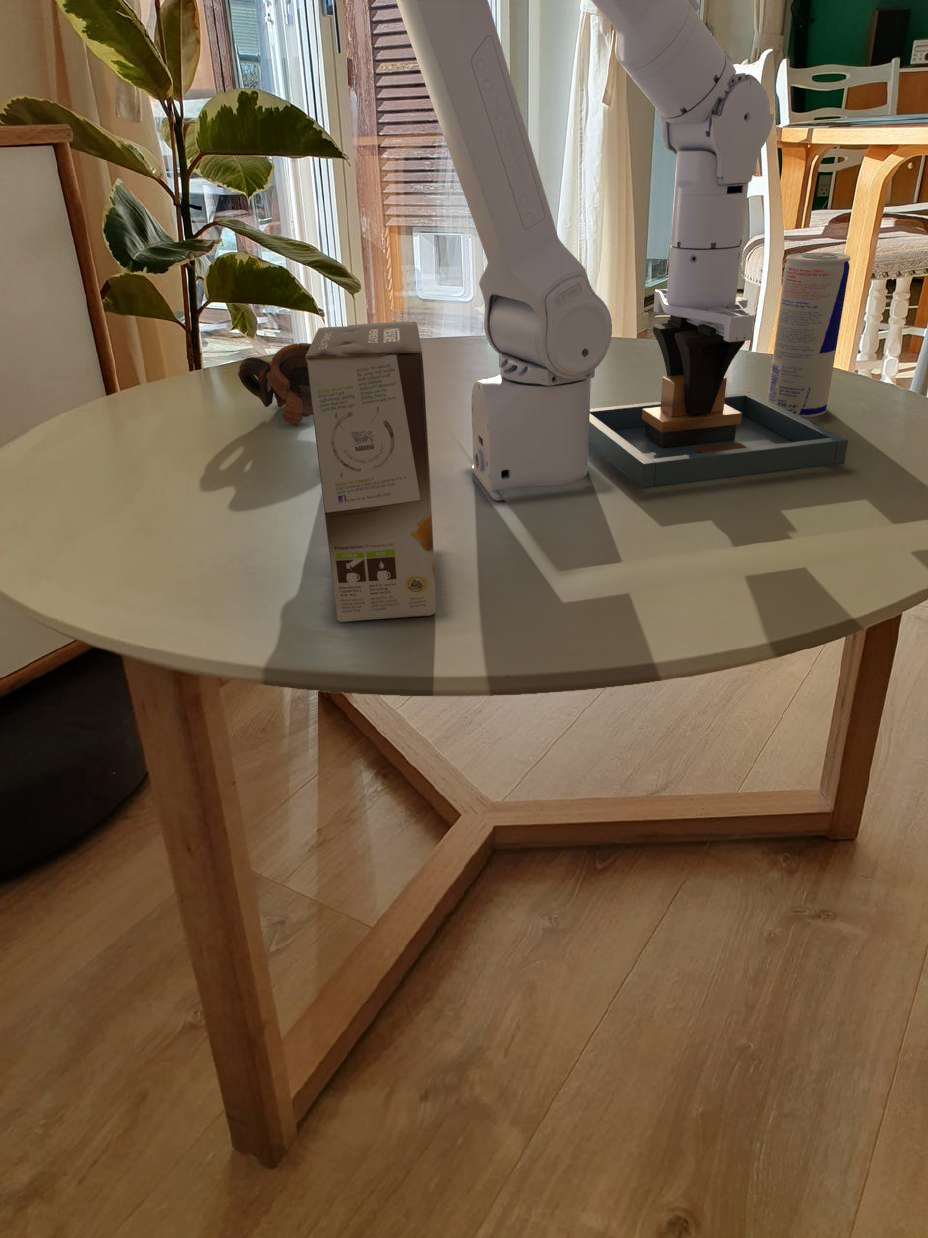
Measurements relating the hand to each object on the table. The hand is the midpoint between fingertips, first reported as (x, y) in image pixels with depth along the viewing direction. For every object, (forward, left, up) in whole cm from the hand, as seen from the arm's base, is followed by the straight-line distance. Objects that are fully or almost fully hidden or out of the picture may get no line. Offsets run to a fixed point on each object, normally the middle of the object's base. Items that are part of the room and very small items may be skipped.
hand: (691, 408), depth 79 cm
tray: (0, -2, -3) cm, 4 cm away
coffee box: (-31, -20, -4) cm, 37 cm away
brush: (0, 0, -3) cm, 3 cm away
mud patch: (0, -7, -3) cm, 8 cm away
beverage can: (+14, +5, -4) cm, 15 cm away
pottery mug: (-34, +24, -4) cm, 42 cm away
